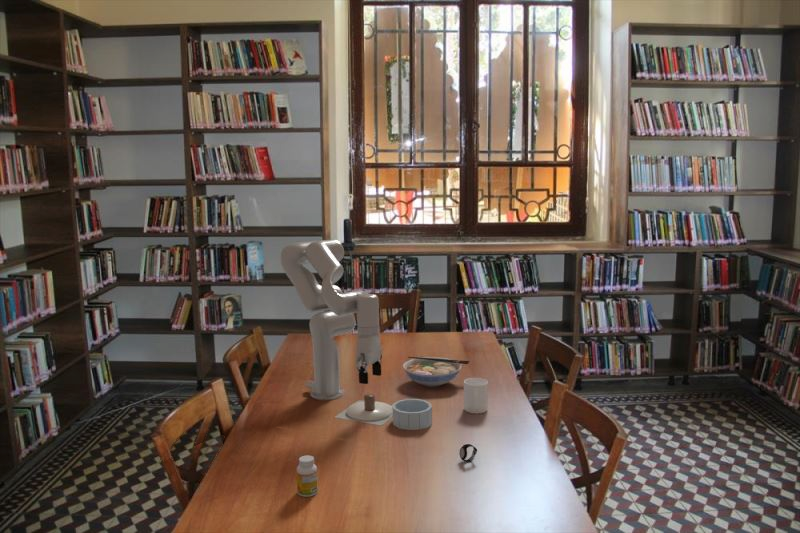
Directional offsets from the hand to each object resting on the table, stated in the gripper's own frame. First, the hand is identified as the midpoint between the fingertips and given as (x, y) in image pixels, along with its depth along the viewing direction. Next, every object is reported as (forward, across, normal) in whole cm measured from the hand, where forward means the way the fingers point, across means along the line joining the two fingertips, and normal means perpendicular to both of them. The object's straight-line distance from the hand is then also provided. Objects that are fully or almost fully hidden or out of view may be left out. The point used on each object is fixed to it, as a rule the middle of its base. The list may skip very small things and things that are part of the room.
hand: (370, 379), depth 241 cm
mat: (+12, 0, -1) cm, 13 cm away
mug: (+13, -16, +32) cm, 38 cm away
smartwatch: (+14, +22, +43) cm, 50 cm away
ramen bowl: (+12, -37, +7) cm, 40 cm away
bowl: (+13, +2, +16) cm, 21 cm away
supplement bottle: (+14, +56, +10) cm, 59 cm away
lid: (+12, 0, -1) cm, 12 cm away
